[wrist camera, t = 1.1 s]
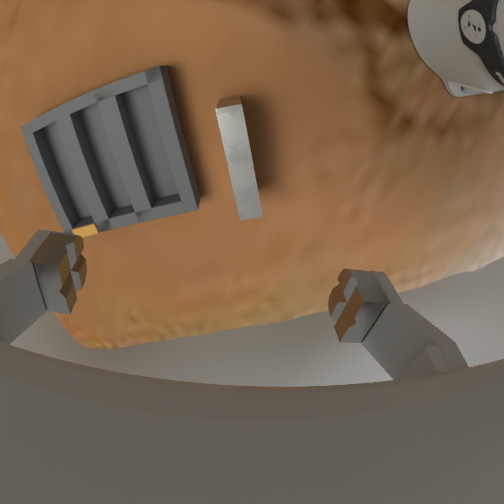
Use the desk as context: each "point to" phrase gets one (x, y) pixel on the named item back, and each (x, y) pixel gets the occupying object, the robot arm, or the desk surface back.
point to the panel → (239, 157)
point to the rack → (114, 155)
